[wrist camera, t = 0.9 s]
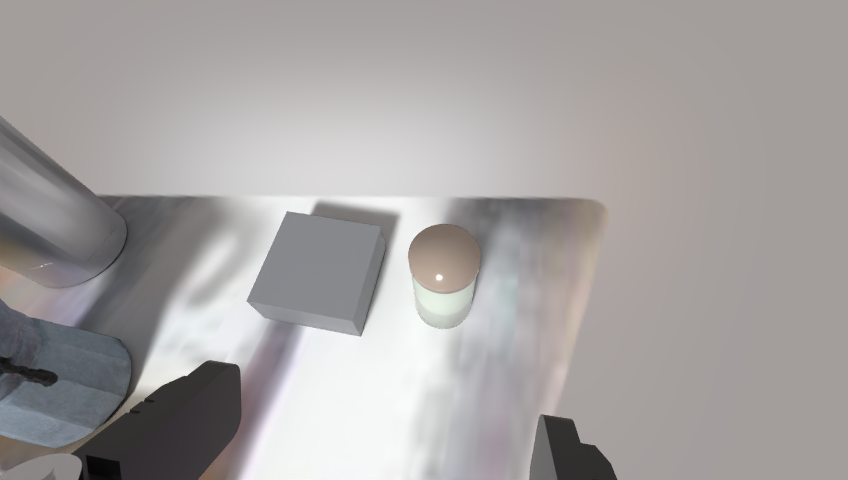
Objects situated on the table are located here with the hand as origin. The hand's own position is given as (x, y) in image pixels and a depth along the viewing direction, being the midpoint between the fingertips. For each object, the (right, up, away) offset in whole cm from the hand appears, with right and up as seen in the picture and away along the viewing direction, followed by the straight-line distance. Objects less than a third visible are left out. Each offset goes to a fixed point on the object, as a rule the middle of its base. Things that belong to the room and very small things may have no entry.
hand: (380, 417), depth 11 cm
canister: (+3, -1, +26) cm, 26 cm away
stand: (-8, +1, +28) cm, 29 cm away
